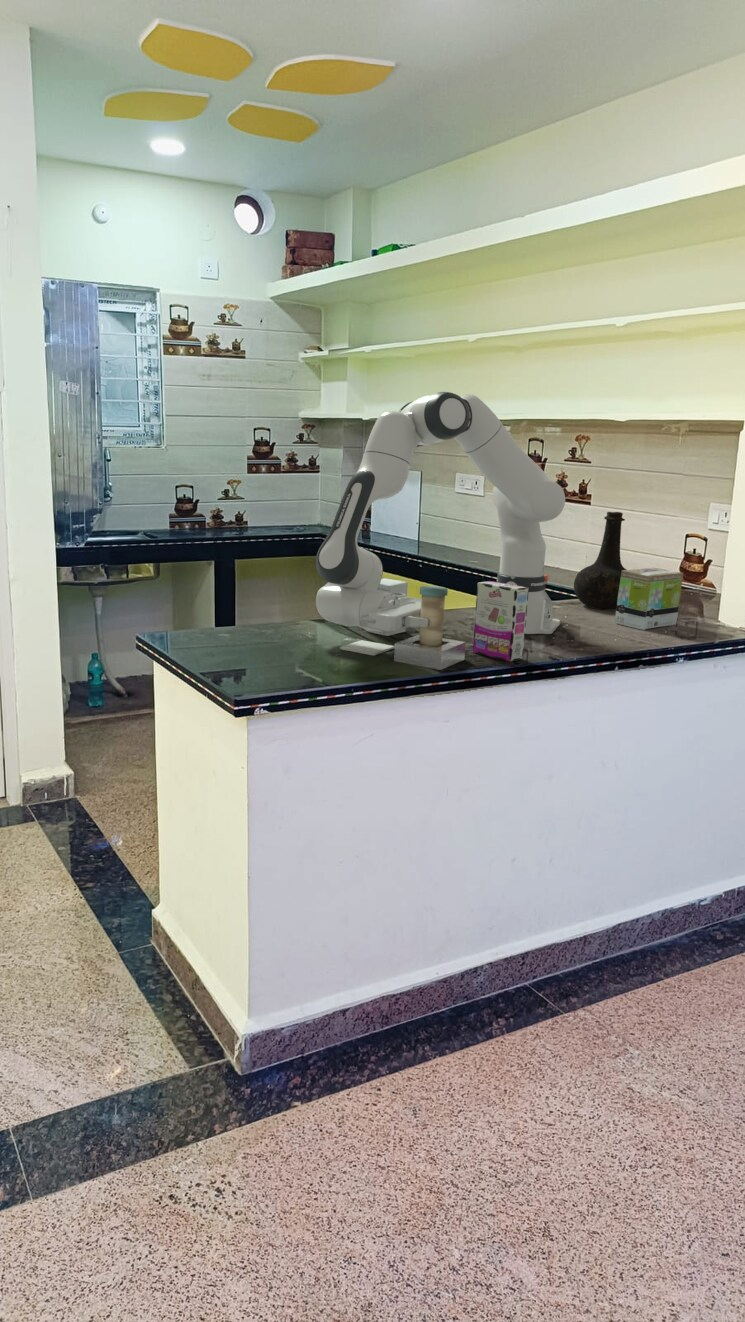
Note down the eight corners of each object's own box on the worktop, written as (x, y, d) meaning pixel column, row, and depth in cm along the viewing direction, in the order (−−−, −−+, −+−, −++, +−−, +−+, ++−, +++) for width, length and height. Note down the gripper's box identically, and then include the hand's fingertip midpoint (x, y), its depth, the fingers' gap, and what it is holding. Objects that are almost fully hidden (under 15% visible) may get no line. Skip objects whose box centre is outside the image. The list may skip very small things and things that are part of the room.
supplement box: (383, 627, 233) (385, 577, 230) (406, 632, 229) (408, 581, 225) (364, 631, 227) (366, 580, 224) (387, 636, 223) (390, 585, 220)
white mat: (361, 642, 216) (361, 640, 216) (394, 648, 212) (394, 646, 211) (340, 649, 209) (340, 647, 208) (374, 655, 204) (374, 653, 204)
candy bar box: (524, 659, 207) (530, 587, 203) (510, 662, 203) (516, 589, 199) (485, 649, 214) (490, 579, 210) (471, 652, 211) (476, 581, 207)
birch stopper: (423, 655, 206) (428, 584, 202) (447, 660, 203) (452, 588, 199) (410, 660, 201) (414, 588, 197) (435, 665, 198) (439, 591, 194)
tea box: (645, 631, 242) (651, 575, 238) (613, 623, 249) (619, 569, 245) (677, 625, 251) (684, 571, 247) (646, 618, 259) (652, 566, 255)
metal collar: (419, 651, 210) (420, 634, 209) (464, 659, 204) (465, 642, 203) (393, 661, 200) (394, 643, 199) (440, 670, 195) (441, 651, 194)
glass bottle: (560, 605, 272) (569, 509, 265) (595, 599, 284) (604, 507, 277) (611, 615, 260) (622, 515, 253) (646, 609, 271) (657, 513, 264)
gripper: (356, 604, 197) (412, 613, 190) (403, 592, 214) (457, 599, 207) (355, 633, 198) (411, 643, 192) (402, 618, 215) (455, 627, 209)
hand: (435, 620), depth 199 cm, fingers closed on birch stopper, 5 cm apart
